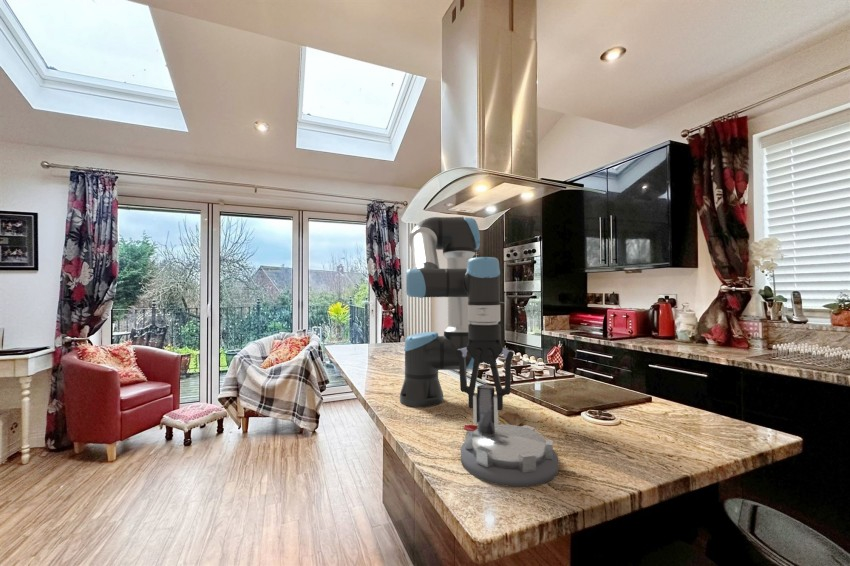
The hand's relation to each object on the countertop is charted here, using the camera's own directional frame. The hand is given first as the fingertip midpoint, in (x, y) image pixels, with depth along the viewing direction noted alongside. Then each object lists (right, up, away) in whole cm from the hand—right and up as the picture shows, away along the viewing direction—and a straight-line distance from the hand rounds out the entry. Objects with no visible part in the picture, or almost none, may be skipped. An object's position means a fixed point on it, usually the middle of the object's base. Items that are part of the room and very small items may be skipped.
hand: (485, 422), depth 84 cm
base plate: (+4, -7, -4) cm, 9 cm away
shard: (+12, -8, +19) cm, 24 cm away
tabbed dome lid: (+4, -5, -4) cm, 8 cm away
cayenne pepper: (0, -8, +13) cm, 15 cm away
